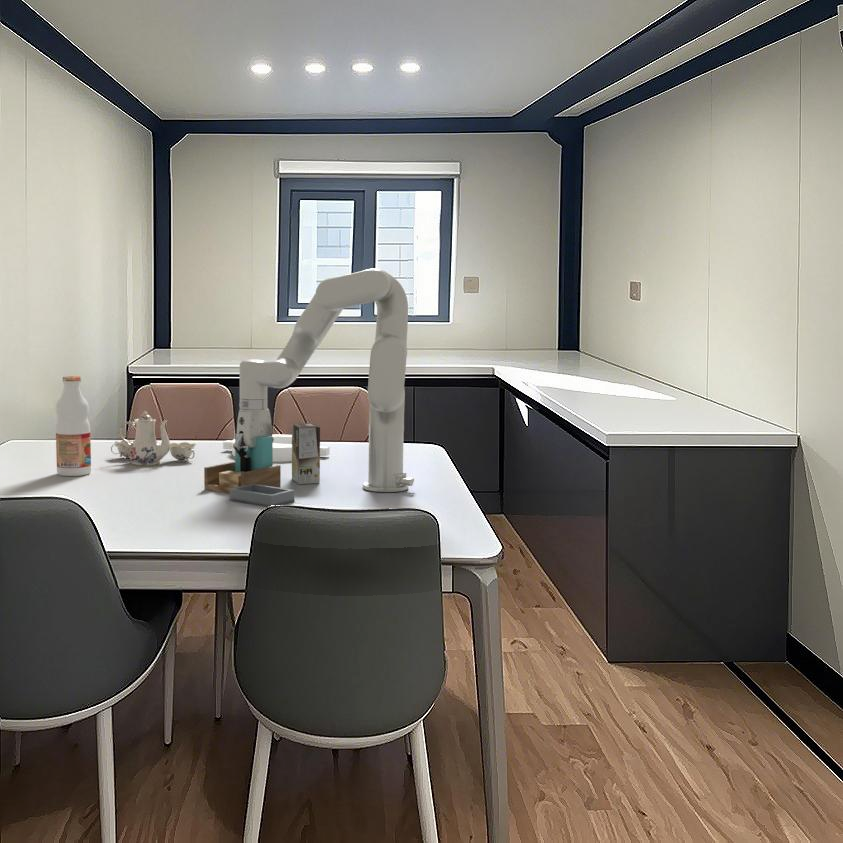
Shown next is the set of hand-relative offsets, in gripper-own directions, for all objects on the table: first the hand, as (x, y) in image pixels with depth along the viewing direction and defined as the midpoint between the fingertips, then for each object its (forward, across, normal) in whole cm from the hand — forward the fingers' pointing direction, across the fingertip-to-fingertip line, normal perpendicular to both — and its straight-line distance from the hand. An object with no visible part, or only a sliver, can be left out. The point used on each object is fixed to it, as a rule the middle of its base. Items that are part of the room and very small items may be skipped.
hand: (253, 469), depth 292 cm
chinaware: (+5, +10, +50) cm, 51 cm away
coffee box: (+5, +14, -7) cm, 16 cm away
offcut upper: (+2, -8, 0) cm, 8 cm away
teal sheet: (+5, 0, 0) cm, 5 cm away
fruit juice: (+5, -18, +52) cm, 55 cm away
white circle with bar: (+5, +44, +29) cm, 53 cm away
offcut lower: (+5, -8, 0) cm, 9 cm away
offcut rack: (+5, -4, 0) cm, 6 cm away
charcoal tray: (+5, -14, -15) cm, 21 cm away
